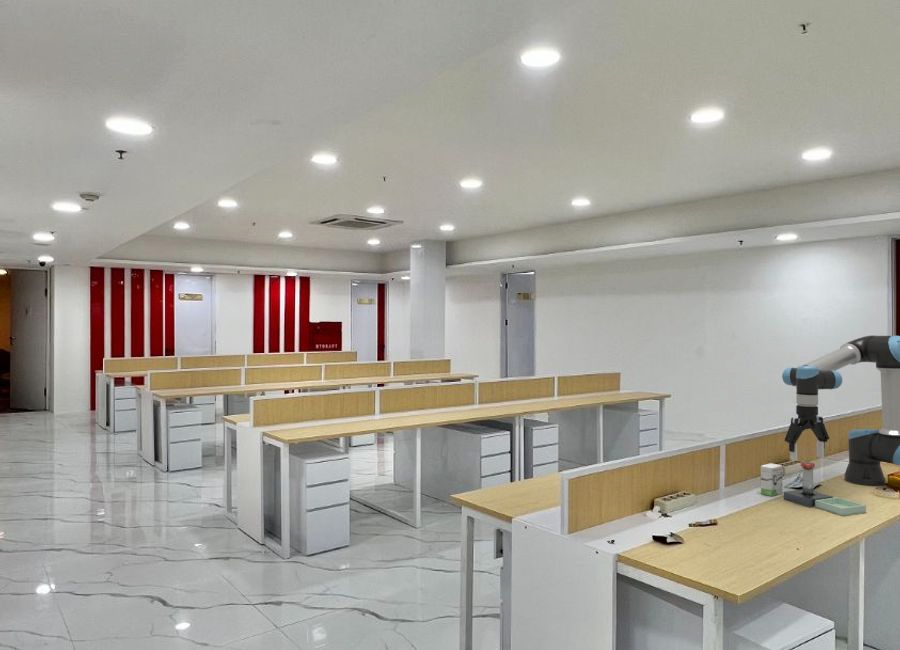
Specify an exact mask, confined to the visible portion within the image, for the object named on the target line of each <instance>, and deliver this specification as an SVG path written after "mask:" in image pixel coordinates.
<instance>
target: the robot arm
mask: <svg viewBox="0 0 900 650" xmlns="http://www.w3.org/2000/svg"><path fill="white" fill-rule="evenodd" d="M860 363H875V369H877V370H878V371H879V372H880V389H881V390H880V391H881V394H880V396H881V417H882V421H881V422H882V428H881V429H878V428H862V429H861V428H860V429H851V430H850V431H849V433H848V439H847V441H848V464H847V467H846V470H845V472H844V476H843V477H844V480H845V481H846V482H848V483H852V484H857V485H862V486H863V485H864V486H876V487H877V486H885V485H886V477H885V475H884V471H883V469H882V466H881V463H887V464H892V465H895V466H900V335H866V336H862V337H858V338H856V339H852V340H850V341H848V342H846V343H844V344H842V345H841V346H840V348H838V349H836V350H834V351H832V352H830V353H827V354H825V355H823V356H820V357H819V358H816V359H813V360H811V361H809V362H808V363H805V364H803V365H799V366H796V367H787V368H785V369H784V370H783V371H782V375H781V379H782V381H783V383H784V384H785V385H787V386H792V387H795V388H796V401H795V402H796V404H797V405H795V406H796V407H795V411H796V415H797V417H791V418H790V424H789V426H788V430H787V432H786V435H785V438H784V442H786V443H788V450H789V460H791V461H795V462H796V461H798V443H796V442H797V441H798V440H799V439H800V436H801V435H802V434H803V432H804V431H805V430H811V432H812V433H813V434H814V436H815V437H816V438H817V440H816V458H819V459H825V447H826V446H825V445H826V443H827V442H828V441H829V440H830V437H829V433H828V431H827V429H826V426H825V423H824V418H823V416H819V390H835V389H839V388H840V387H841V386H842V384H843V376H842V375H841V373H840V372H839V371H837V370H840V369H842V368H844V367H846V366H848V365H856V364H860Z"/></svg>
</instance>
